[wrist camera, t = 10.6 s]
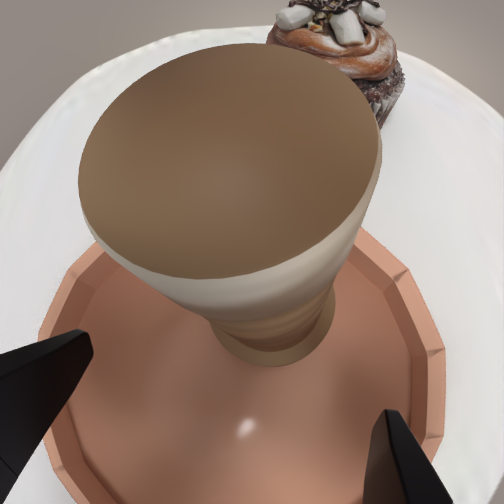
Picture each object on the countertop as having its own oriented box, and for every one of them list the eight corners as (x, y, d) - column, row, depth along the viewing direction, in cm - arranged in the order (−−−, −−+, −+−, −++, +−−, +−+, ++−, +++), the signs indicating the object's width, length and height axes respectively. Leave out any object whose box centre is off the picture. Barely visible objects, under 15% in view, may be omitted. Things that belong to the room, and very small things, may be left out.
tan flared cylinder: (279, 391, 15) (229, 448, 3) (189, 313, 17) (11, 179, 5) (356, 295, 16) (468, 110, 4) (264, 229, 18) (217, 12, 6)
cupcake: (252, 142, 22) (228, 21, 13) (290, 69, 25) (283, -28, 16) (384, 175, 20) (423, 54, 11) (395, 92, 23) (416, -6, 14)
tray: (401, 550, 10) (416, 572, 8) (67, 511, 13) (42, 521, 10) (406, 212, 19) (421, 187, 16) (90, 220, 21) (68, 201, 19)
